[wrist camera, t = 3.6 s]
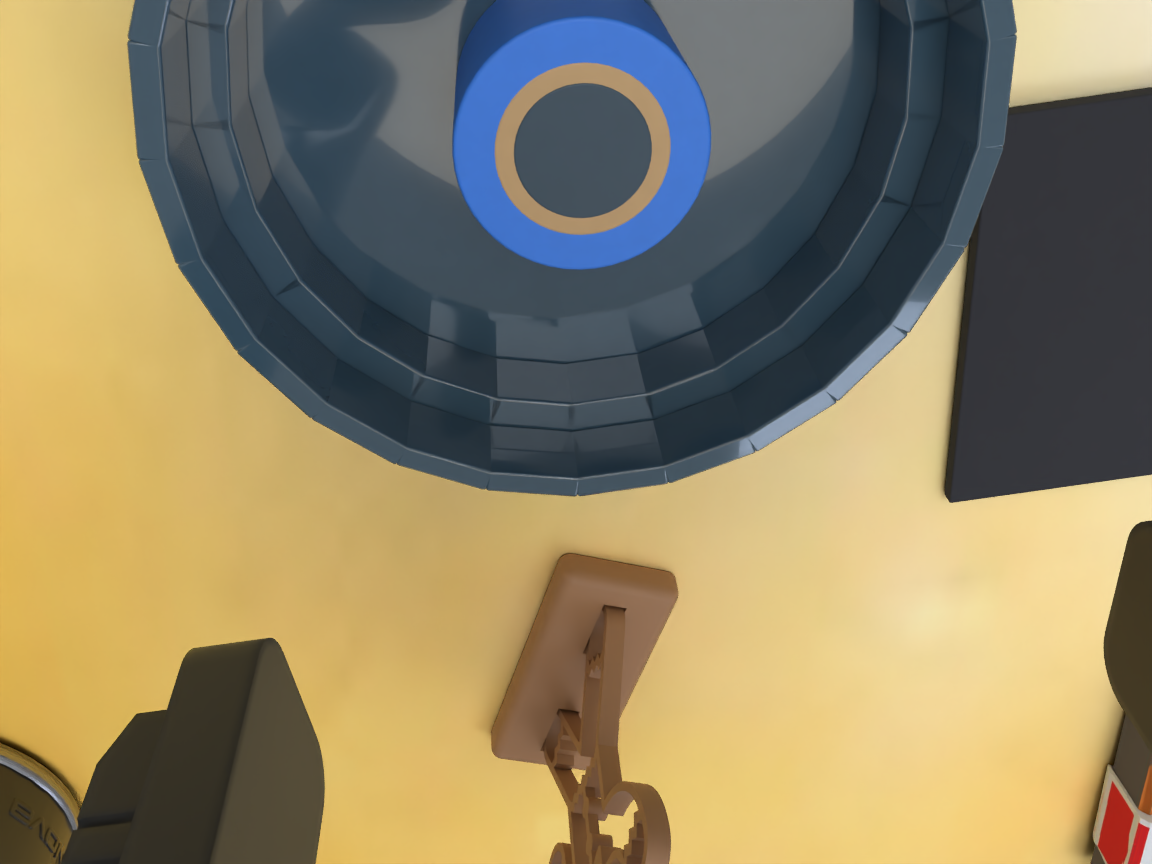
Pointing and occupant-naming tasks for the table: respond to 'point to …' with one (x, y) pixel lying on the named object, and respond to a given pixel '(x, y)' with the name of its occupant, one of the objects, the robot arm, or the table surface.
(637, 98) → the tape roll
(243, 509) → the table surface
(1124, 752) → the electronic device
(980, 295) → the mat
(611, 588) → the brown scrollwork wall hook
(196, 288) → the bowl
